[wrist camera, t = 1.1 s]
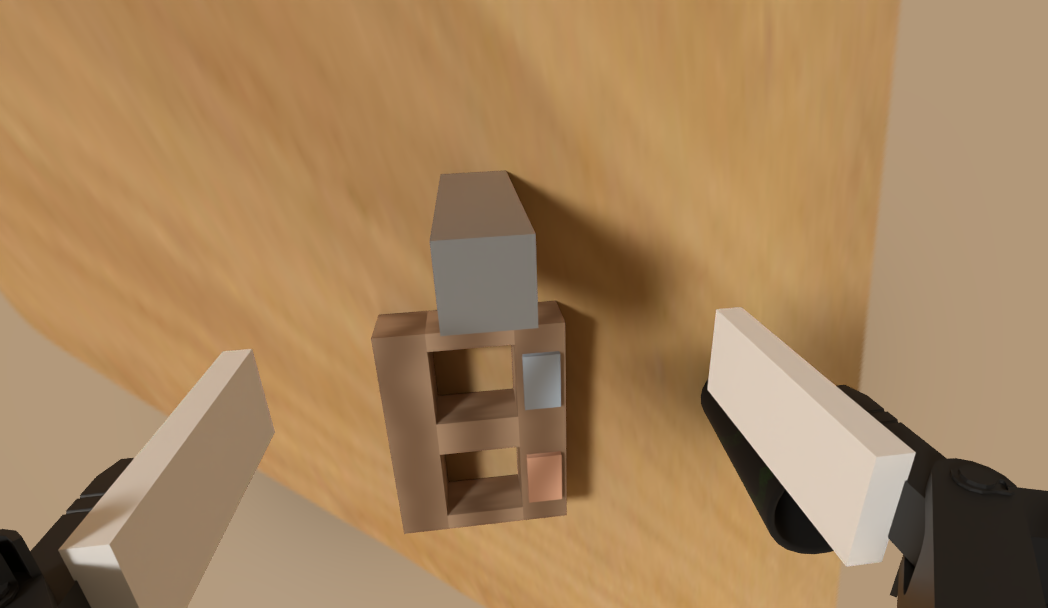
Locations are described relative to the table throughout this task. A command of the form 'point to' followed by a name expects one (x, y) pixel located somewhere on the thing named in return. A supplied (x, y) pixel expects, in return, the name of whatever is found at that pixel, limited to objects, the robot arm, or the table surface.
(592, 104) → the table surface
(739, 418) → the robot arm
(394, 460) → the socket block
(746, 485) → the cup
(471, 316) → the plug
